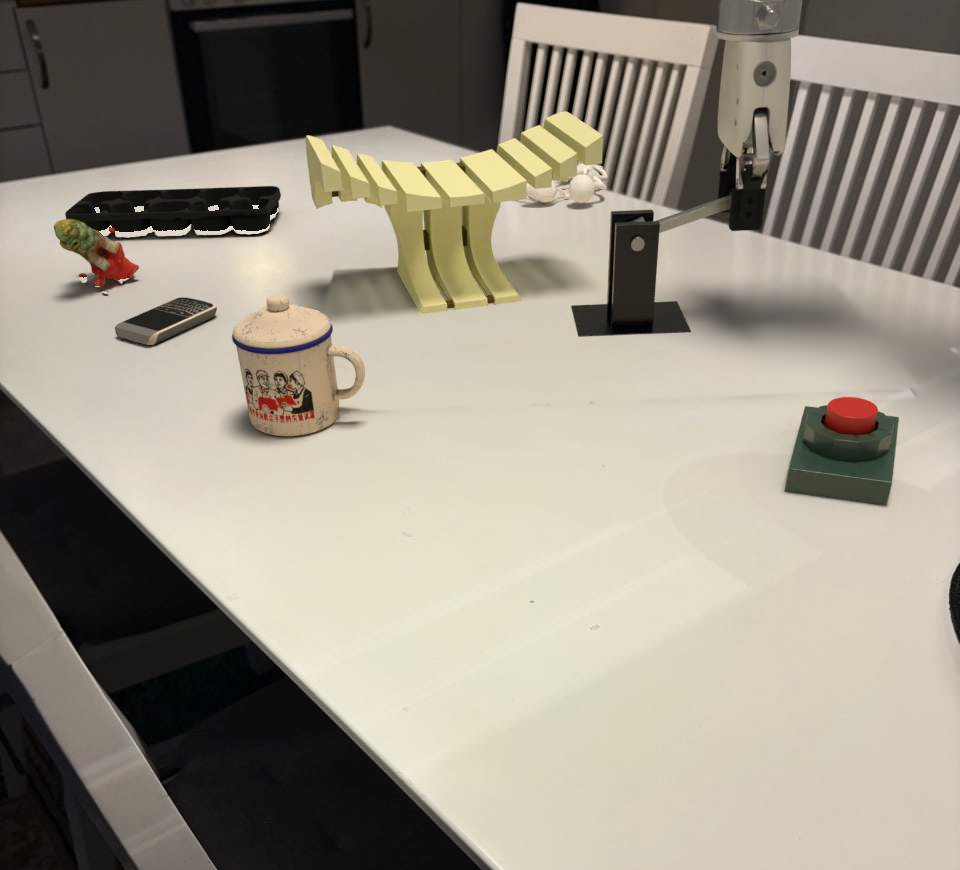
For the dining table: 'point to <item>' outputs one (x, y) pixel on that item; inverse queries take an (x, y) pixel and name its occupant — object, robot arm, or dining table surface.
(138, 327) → the cell phone
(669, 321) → the lever bracket
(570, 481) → the dining table surface
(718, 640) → the dining table surface
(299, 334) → the teacup with lid
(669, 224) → the lever handle
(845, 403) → the button
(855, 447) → the button block
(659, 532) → the dining table surface
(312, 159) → the slatted curved stool
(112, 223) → the egg carton
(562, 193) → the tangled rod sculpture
